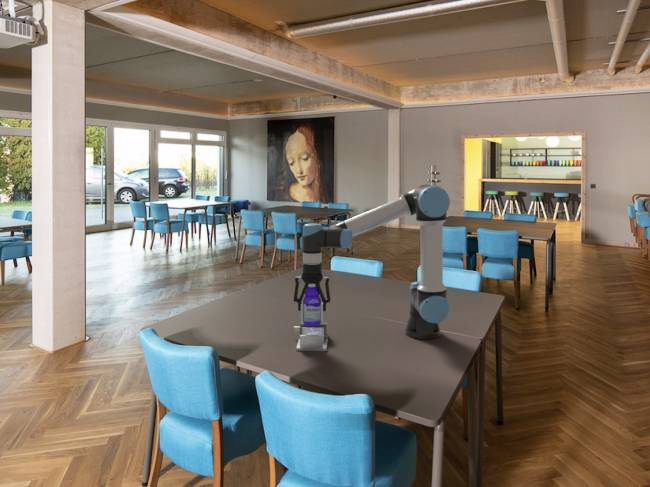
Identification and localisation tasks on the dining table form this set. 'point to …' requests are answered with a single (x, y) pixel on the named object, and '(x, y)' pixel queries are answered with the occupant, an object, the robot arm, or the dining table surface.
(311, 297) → the bottle
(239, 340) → the dining table surface
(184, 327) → the dining table surface
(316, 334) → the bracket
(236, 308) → the dining table surface
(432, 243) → the robot arm
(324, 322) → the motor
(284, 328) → the dining table surface
